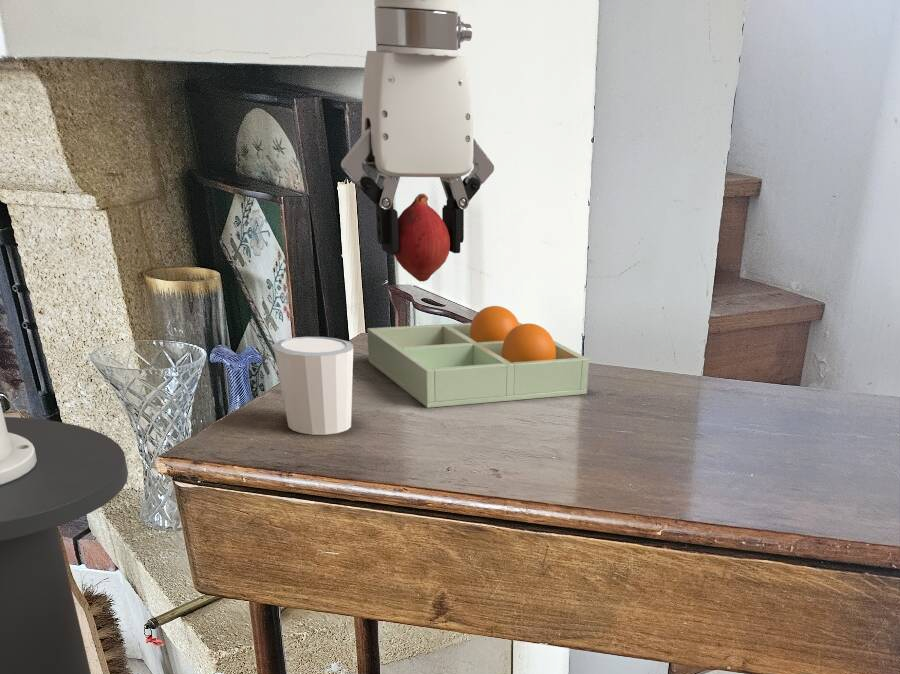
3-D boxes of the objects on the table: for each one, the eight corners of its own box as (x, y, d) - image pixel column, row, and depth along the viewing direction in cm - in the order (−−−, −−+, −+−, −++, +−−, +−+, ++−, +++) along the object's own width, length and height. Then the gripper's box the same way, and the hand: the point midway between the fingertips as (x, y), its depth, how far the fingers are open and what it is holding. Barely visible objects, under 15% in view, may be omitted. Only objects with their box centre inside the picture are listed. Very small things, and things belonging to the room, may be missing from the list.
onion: (422, 289, 103) (420, 199, 98) (381, 280, 105) (377, 191, 101) (461, 282, 107) (461, 195, 102) (420, 274, 109) (418, 188, 105)
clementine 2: (515, 389, 105) (516, 331, 102) (492, 375, 109) (493, 319, 106) (563, 385, 107) (566, 328, 104) (539, 371, 111) (542, 316, 108)
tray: (427, 408, 100) (426, 370, 98) (368, 362, 112) (367, 328, 110) (586, 394, 107) (589, 359, 105) (514, 352, 120) (515, 320, 118)
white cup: (272, 434, 91) (263, 351, 87) (291, 411, 96) (284, 332, 93) (350, 439, 91) (344, 356, 87) (365, 416, 96) (360, 337, 93)
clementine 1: (481, 368, 111) (482, 313, 108) (461, 355, 115) (461, 301, 112) (528, 365, 113) (530, 310, 110) (507, 352, 117) (508, 299, 114)
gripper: (486, 40, 100) (484, 243, 111) (312, 28, 93) (326, 247, 104) (519, 42, 95) (514, 256, 105) (337, 30, 88) (350, 260, 98)
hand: (421, 249), depth 104 cm, fingers closed on onion, 5 cm apart
